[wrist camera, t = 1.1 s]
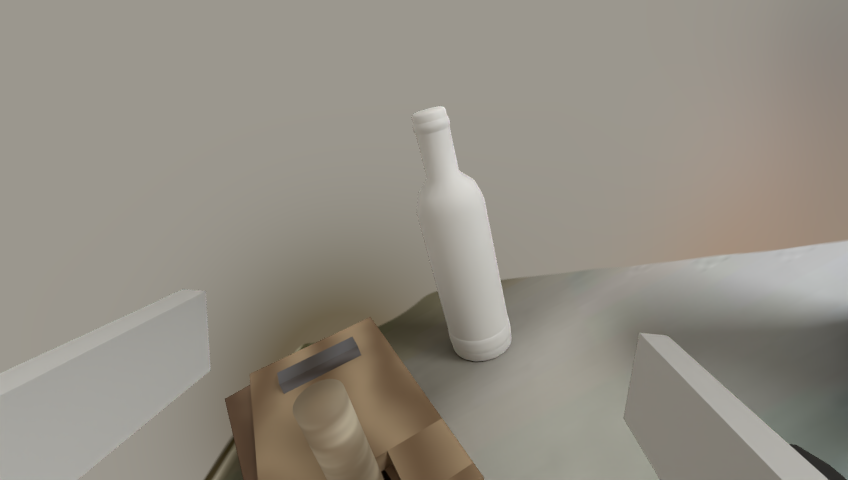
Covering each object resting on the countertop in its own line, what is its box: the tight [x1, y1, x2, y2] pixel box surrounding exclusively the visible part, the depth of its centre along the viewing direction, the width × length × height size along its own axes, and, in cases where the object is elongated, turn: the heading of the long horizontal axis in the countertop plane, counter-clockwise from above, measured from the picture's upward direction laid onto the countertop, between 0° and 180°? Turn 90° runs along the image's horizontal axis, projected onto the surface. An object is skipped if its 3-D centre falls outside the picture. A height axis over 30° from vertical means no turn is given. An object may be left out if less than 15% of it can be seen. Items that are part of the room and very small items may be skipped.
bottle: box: [412, 106, 512, 361], centre depth 47 cm, size 8×8×30 cm
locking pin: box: [293, 379, 384, 480], centre depth 27 cm, size 3×3×14 cm
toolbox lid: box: [250, 317, 484, 480], centre depth 34 cm, size 14×24×3 cm, turn 26°
